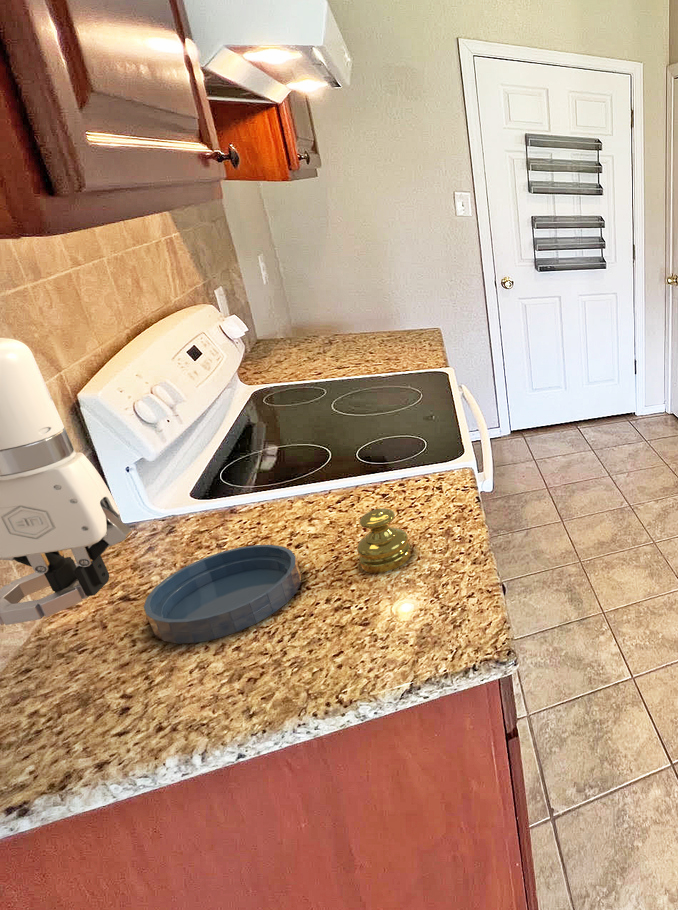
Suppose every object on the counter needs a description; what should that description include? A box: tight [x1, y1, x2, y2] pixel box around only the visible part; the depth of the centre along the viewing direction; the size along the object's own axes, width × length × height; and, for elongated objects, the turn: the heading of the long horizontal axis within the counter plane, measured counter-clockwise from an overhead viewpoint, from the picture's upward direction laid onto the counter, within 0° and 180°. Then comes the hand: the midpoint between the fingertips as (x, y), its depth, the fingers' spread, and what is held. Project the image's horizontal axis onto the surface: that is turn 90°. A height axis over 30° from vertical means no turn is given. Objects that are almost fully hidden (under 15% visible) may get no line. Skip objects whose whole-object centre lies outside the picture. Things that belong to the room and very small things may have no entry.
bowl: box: [143, 544, 302, 645], centre depth 85 cm, size 17×17×4 cm
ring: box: [0, 562, 90, 626], centre depth 67 cm, size 8×8×2 cm
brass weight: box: [356, 508, 412, 574], centre depth 94 cm, size 7×7×10 cm
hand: (85, 589), depth 68 cm, fingers closed on ring, 1 cm apart
